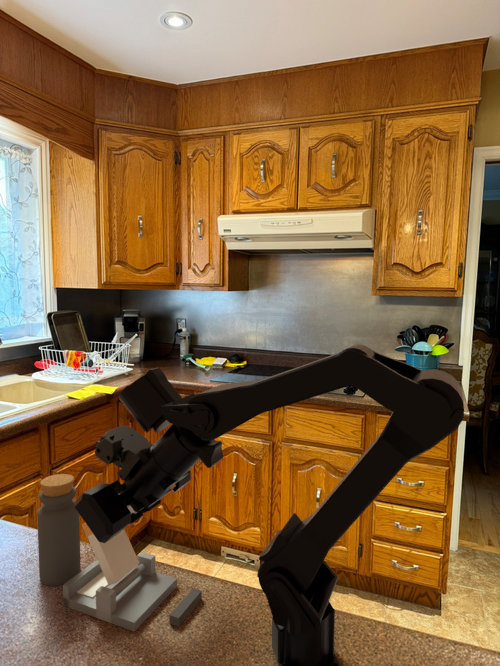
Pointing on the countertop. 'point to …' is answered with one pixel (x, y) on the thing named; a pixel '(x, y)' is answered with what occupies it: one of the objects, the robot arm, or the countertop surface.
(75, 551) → the bottle
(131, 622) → the grey twin-post base
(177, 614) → the long grey bar
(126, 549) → the lever
